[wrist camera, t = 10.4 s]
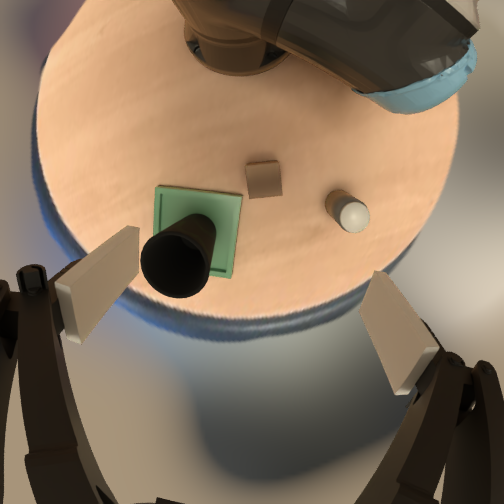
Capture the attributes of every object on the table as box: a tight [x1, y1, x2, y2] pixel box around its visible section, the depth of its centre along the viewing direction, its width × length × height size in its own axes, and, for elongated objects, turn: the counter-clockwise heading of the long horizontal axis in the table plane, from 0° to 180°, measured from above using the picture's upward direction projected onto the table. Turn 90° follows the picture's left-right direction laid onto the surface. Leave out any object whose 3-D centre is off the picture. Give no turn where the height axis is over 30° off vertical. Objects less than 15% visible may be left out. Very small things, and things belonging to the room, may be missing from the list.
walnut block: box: [245, 161, 282, 199], centre depth 35 cm, size 4×4×5 cm
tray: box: [153, 186, 242, 279], centre depth 40 cm, size 12×12×2 cm
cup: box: [140, 213, 217, 298], centre depth 34 cm, size 8×8×12 cm
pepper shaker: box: [325, 190, 370, 233], centre depth 35 cm, size 4×4×8 cm
